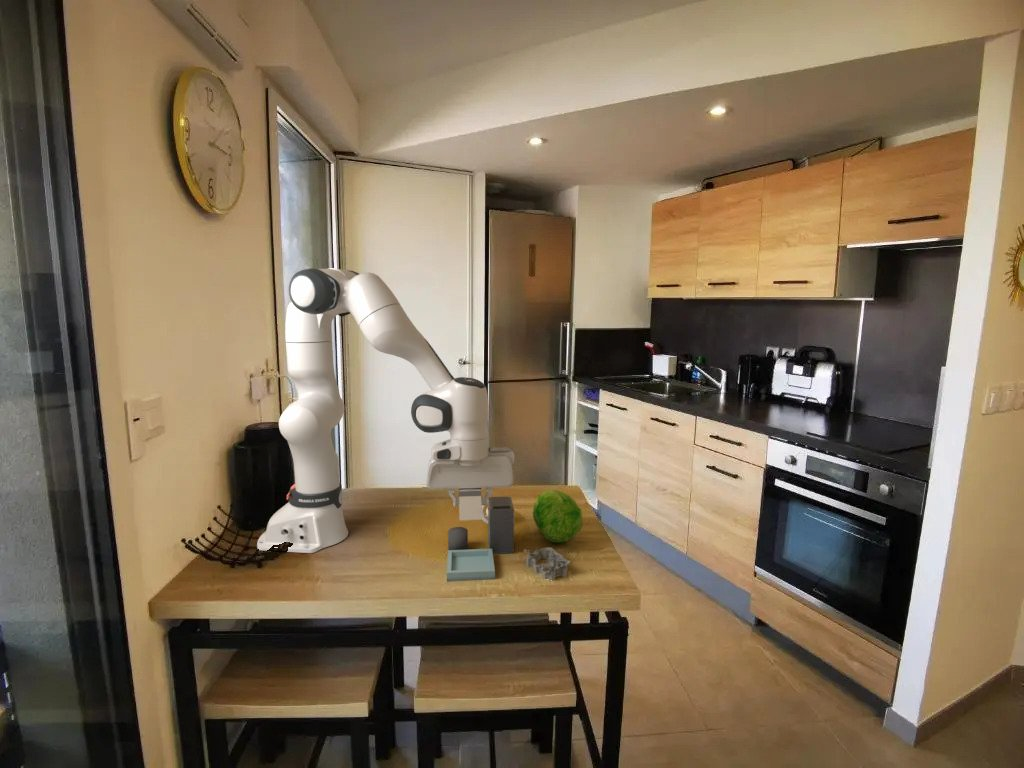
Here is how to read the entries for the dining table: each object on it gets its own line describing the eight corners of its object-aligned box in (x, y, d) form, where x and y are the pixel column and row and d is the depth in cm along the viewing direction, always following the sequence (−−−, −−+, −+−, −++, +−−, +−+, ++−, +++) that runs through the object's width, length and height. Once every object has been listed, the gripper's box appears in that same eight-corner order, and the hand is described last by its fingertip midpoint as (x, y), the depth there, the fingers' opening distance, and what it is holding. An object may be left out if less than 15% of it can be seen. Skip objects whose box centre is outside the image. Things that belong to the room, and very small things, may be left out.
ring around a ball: (507, 522, 151) (507, 495, 150) (507, 530, 145) (508, 503, 144) (479, 522, 151) (479, 496, 149) (479, 530, 145) (479, 503, 144)
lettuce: (570, 517, 155) (571, 479, 153) (588, 553, 132) (589, 510, 130) (527, 518, 154) (527, 480, 152) (537, 555, 131) (538, 511, 129)
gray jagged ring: (521, 563, 127) (522, 548, 127) (547, 557, 131) (548, 541, 130) (545, 584, 118) (545, 567, 118) (572, 576, 122) (572, 559, 121)
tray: (446, 581, 119) (446, 573, 118) (447, 557, 129) (447, 550, 129) (494, 579, 120) (494, 570, 119) (492, 556, 131) (492, 548, 130)
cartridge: (459, 520, 120) (458, 491, 119) (459, 511, 125) (459, 483, 124) (481, 519, 120) (481, 490, 119) (481, 510, 125) (480, 483, 124)
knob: (448, 554, 131) (447, 535, 131) (448, 545, 136) (448, 527, 136) (468, 553, 132) (467, 534, 131) (467, 544, 137) (467, 526, 136)
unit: (488, 554, 131) (488, 507, 130) (487, 540, 139) (487, 495, 137) (514, 553, 132) (515, 506, 130) (511, 539, 140) (511, 495, 138)
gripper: (513, 443, 124) (513, 498, 126) (426, 445, 122) (428, 501, 124) (516, 450, 118) (515, 508, 120) (424, 453, 116) (426, 511, 118)
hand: (470, 505), depth 122 cm, fingers closed on cartridge, 5 cm apart
